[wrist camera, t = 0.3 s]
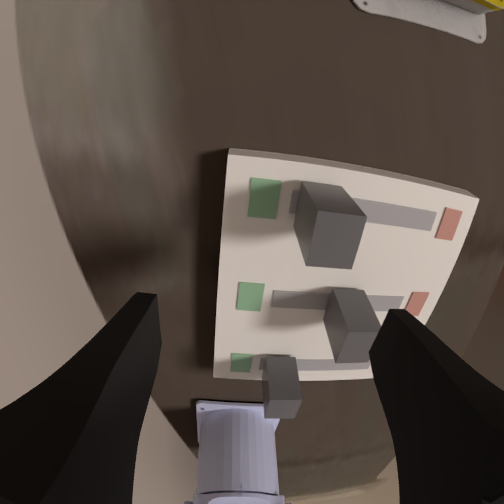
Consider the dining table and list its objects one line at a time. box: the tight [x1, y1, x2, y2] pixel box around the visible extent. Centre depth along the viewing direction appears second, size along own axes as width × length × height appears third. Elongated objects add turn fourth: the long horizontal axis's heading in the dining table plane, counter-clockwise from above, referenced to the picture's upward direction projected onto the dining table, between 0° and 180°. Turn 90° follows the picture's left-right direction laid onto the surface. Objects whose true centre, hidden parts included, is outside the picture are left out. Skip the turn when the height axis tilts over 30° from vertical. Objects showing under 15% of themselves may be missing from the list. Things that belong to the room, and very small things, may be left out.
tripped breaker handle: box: [323, 288, 381, 363], centre depth 17 cm, size 2×2×4 cm
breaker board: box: [213, 148, 479, 419], centre depth 17 cm, size 16×15×5 cm
